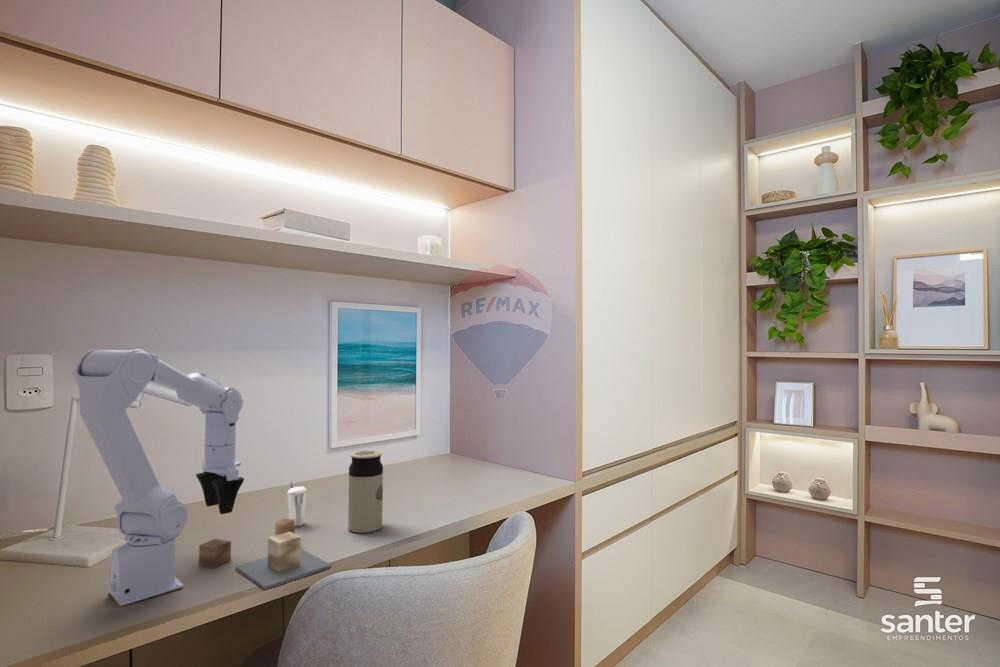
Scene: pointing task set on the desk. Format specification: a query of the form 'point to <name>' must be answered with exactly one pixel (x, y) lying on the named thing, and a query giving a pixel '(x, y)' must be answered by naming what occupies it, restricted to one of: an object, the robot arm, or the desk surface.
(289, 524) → the oak cylinder
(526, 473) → the desk surface
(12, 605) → the desk surface
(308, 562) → the mat
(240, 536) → the desk surface
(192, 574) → the desk surface
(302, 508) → the milkshake
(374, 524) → the travel mug
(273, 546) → the maple block
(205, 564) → the walnut cube
